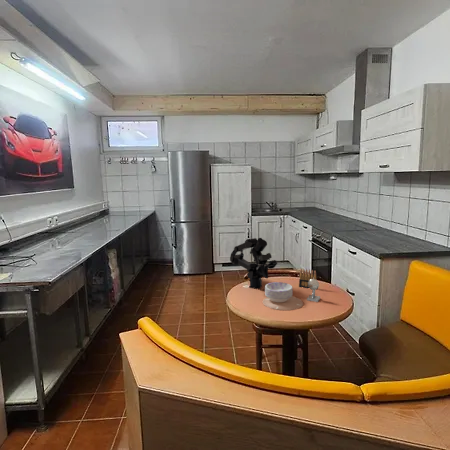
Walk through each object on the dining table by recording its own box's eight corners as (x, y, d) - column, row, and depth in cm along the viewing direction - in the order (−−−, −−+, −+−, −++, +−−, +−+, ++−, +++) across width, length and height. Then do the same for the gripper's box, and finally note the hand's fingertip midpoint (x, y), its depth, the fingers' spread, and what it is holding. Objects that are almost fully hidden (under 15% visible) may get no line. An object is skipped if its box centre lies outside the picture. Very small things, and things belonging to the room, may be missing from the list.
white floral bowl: (271, 306, 177) (271, 291, 176) (260, 296, 191) (260, 283, 190) (297, 303, 181) (297, 289, 180) (285, 293, 195) (285, 280, 194)
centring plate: (256, 305, 178) (256, 305, 178) (270, 293, 197) (271, 292, 197) (296, 313, 168) (296, 312, 168) (307, 299, 187) (307, 298, 187)
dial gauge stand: (306, 300, 185) (307, 279, 183) (309, 296, 190) (310, 276, 189) (317, 301, 182) (318, 280, 181) (320, 298, 188) (320, 277, 186)
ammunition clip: (298, 287, 208) (299, 268, 206) (299, 286, 209) (300, 267, 208) (315, 289, 202) (316, 270, 201) (316, 288, 204) (317, 269, 202)
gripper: (249, 250, 194) (258, 273, 186) (275, 247, 202) (286, 269, 194) (242, 260, 202) (251, 283, 194) (268, 256, 210) (278, 278, 202)
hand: (267, 278), depth 196 cm, fingers closed
